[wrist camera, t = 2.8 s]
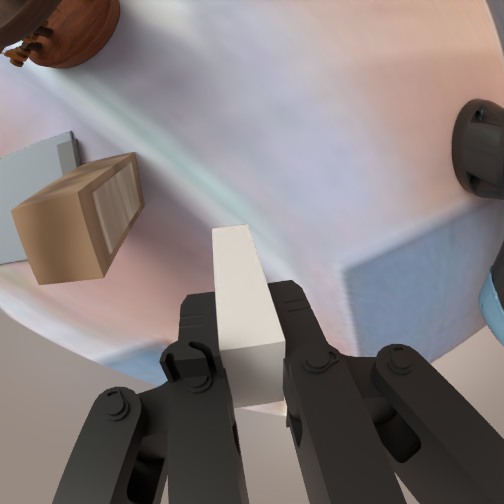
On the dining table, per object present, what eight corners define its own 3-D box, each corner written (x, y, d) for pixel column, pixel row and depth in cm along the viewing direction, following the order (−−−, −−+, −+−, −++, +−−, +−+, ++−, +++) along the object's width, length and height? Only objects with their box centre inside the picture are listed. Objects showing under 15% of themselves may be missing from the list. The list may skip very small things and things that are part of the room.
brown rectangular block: (135, 151, 26) (79, 191, 14) (145, 205, 29) (105, 277, 17) (84, 163, 26) (10, 210, 14) (96, 213, 29) (39, 285, 17)
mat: (74, 129, 24) (70, 131, 23) (101, 245, 31) (98, 250, 30) (-33, 175, 22) (-38, 178, 21) (-5, 263, 29) (-9, 268, 28)
